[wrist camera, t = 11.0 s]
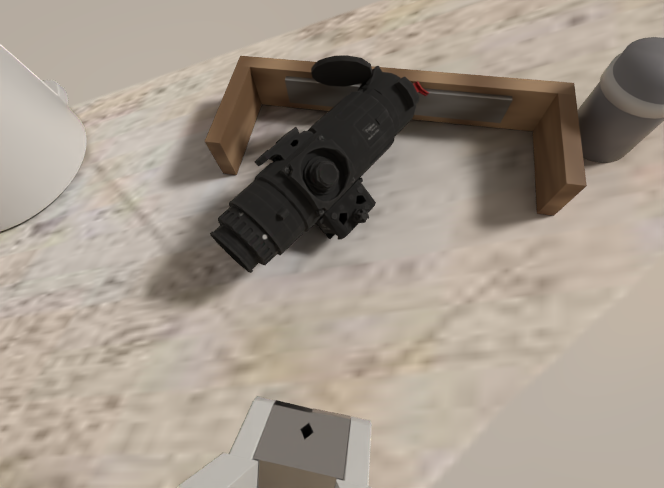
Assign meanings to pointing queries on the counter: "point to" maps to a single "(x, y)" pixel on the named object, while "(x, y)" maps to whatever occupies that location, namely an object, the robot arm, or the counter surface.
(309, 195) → the night vision scope
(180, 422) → the counter surface
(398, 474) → the counter surface
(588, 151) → the gray domed cylinder
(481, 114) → the bracket
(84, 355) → the counter surface
